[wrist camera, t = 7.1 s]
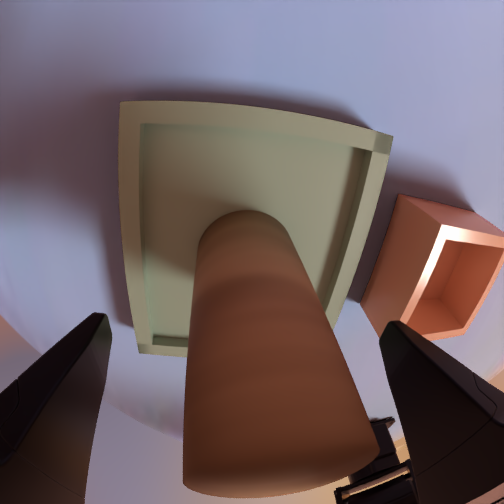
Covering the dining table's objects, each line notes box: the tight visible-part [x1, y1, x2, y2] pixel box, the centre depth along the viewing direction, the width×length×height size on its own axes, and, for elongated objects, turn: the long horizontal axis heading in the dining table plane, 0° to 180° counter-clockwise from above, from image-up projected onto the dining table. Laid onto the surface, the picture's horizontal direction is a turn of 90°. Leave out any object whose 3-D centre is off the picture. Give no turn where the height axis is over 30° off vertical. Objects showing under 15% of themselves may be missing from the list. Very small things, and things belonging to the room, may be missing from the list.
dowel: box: [183, 210, 380, 498], centre depth 8 cm, size 4×4×9 cm
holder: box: [360, 194, 504, 341], centre depth 13 cm, size 7×7×4 cm
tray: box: [118, 101, 393, 357], centre depth 12 cm, size 12×10×2 cm
